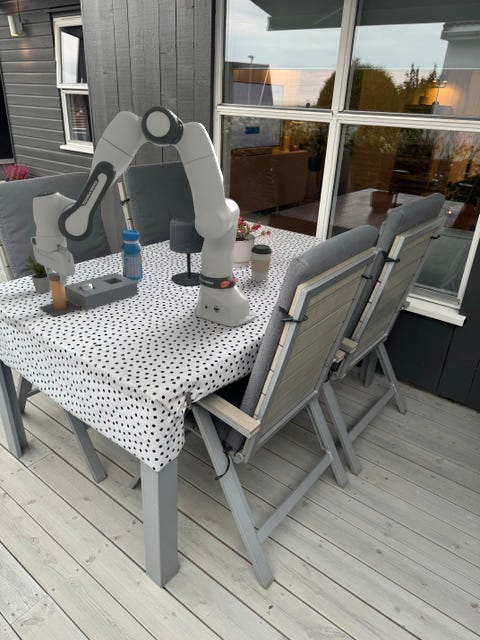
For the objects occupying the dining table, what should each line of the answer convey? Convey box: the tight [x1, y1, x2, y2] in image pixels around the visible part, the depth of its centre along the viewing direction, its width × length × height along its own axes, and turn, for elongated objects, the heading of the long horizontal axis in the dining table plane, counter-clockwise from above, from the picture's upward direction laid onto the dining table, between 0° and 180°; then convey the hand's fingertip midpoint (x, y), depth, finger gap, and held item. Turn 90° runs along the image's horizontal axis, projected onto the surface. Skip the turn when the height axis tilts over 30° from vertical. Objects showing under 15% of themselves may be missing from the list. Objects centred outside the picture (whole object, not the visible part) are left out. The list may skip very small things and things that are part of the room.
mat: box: [39, 299, 82, 318], centre depth 157 cm, size 10×10×1 cm
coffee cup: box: [250, 244, 273, 282], centre depth 193 cm, size 9×9×15 cm
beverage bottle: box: [120, 229, 144, 283], centre depth 184 cm, size 8×8×20 cm
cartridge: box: [49, 272, 67, 310], centre depth 155 cm, size 5×5×12 cm
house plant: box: [22, 254, 51, 294], centre depth 167 cm, size 14×14×16 cm
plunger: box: [82, 283, 92, 291], centre depth 164 cm, size 4×4×6 cm
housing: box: [65, 272, 139, 311], centre depth 168 cm, size 22×14×5 cm, turn 139°
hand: (57, 281), depth 153 cm, fingers open, 6 cm apart
